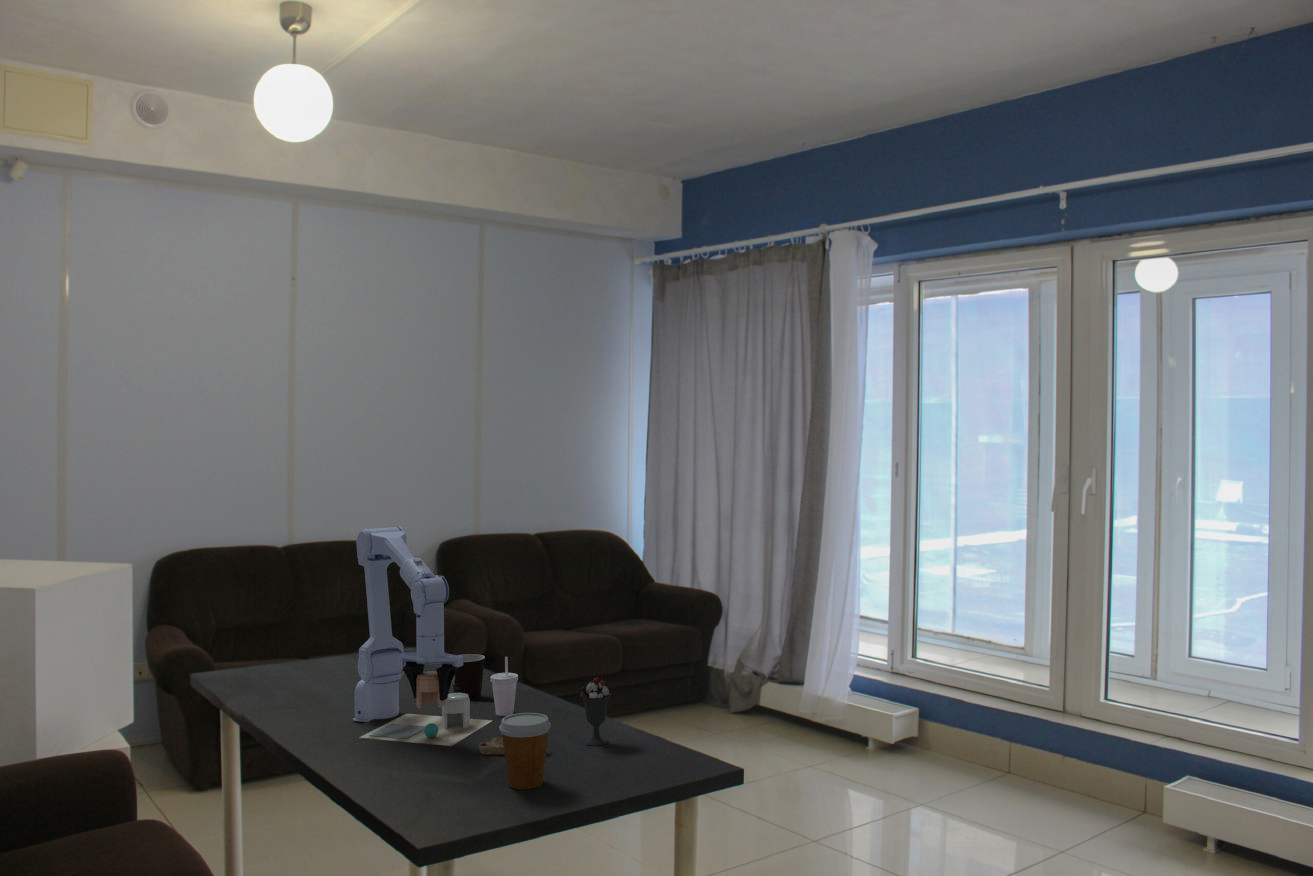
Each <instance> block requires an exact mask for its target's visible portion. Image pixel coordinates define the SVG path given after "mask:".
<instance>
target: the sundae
mask: <svg viewBox="0 0 1313 876" xmlns="http://www.w3.org/2000/svg"><path fill="white" fill-rule="evenodd" d="M604 672H606V670H605V669H602V670H601V672H600V674H599V675H598V676H597V677H595V678H593V680H592V681H589V683H588V684H587V685H586V688H584V686H582V687H581V691H582V692H581V693H580V694H579V698H580V699H582V700H583V704H584V712H585V718H586V721H587V722H588V723H589V724H590V725H591V726H592V727H593V728H592V729H593V734H592V736H591V738H589V739H588V738H587V739H586V740H584V744H585V745H587V746H590V747H600V746H604V745H607V744H608V743H609V740H608V739H606V738H603V737H601V735H600V726H601V725H603V723H604V722H605V721H606V718H607V711H608V704H609V703H608V702H609V698H610V697H611V696H612V693H610V691H609V688H608V687H607V686H606V681H605V680H604V678H603V677H604V676H603V674H604ZM599 677H601V680H600V679H599Z"/></svg>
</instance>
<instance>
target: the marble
mask: <svg viewBox="0 0 1313 876" xmlns="http://www.w3.org/2000/svg"><path fill="white" fill-rule="evenodd" d="M437 733H438V727H437V725H436V724H434V723H429V724H427V725H426V726H425V728H424V734H425V735H426V736H427V737H429V738H433V737H435V736H436V735H437Z"/></svg>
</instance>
